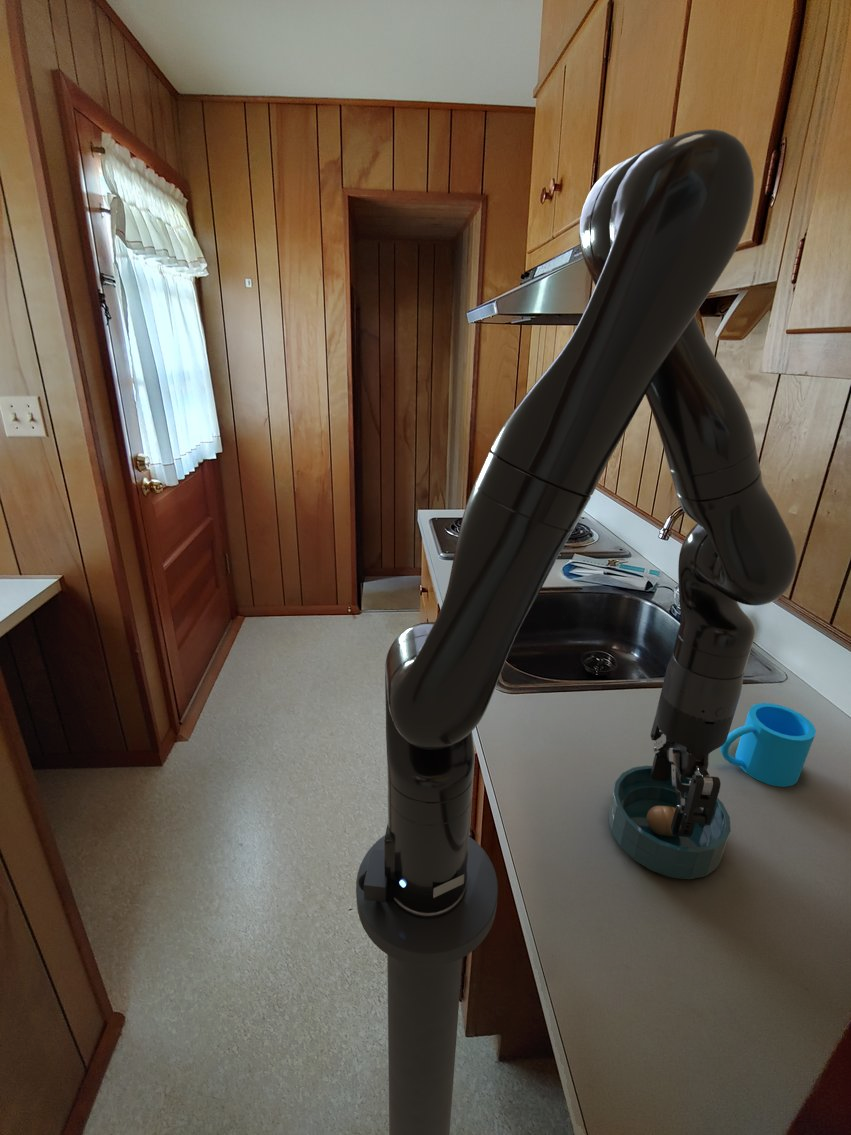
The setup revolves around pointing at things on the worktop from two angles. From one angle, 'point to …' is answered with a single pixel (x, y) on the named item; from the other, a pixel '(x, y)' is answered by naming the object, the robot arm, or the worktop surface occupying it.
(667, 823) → the bread
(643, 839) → the bowl
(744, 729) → the mug
